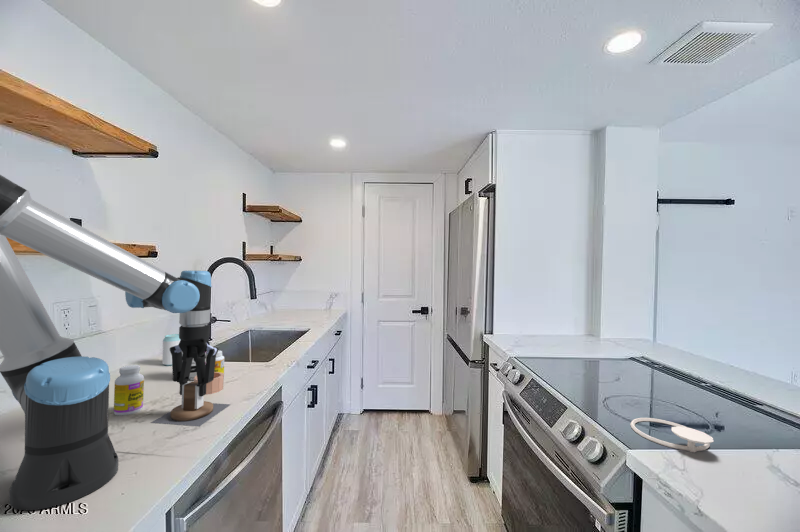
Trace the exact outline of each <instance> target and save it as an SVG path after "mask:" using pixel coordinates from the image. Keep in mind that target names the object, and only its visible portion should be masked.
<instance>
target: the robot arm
mask: <svg viewBox="0 0 800 532" xmlns="http://www.w3.org/2000/svg"><path fill="white" fill-rule="evenodd" d="M8 239H10V240H12V241H13V242H17V243H18V244H20V245H23V246H24V247H27V248H29V249H31V250H34V251H36V252H38V253H40V254H43V255H45V256H47V257H49V258H51V259H54V260H55V261H58V262H60V263H63V264H64V265H66V266H69V267H70V268H73V269H75V270H78V271H79V272H82V273H84V274H86V275H89V276H91V277H93V278H95V279H97V280H99V281H102V282H104V283H106V284H109V285H111V286H112V287H115V288H117V289H118V290H122V291H124V292H125V293H124V294H125V295H124V297H125V302H126V304H127V306H128V307H129V308H132V309H137V308H138V309H139V308H141V309H144V308H154V309H159V310H163V311H166V312H169V313H172V314H179V321H178V324H179V325H180V326H179V327H178V334H179V339H181V340H180V342H179V345H177V346H173V347H170V352H171V355H172V367H171V368H172V369H171V370H172V381H173V382H176V383H178V384H179V395H180V396H181V405H182V408H183V403H184V385H186V384H188V383H190V382H191V381H190V379H189V376H190V371H191V365H192V360H193V358H194V362H195V363H196V372H197V380H198V384H197V385H196V386H195V409H198V408H200V407H201V406H203V404H204V401H205V400H204V399H205V397H204V396H205V395H206V384H207V383H209V382H211V381H213V379H214V370H215V360H216V354H217V352H218V350H220V349H219V347H213V346H212V345H211V343H210V340H209V338H210V336H211V335H210V334H211V325H210V322H211V298H212V295H211V294H212V287H213V286H212V275H211V273H210V271H208V270H182V271H181V273H180V274H179V277H176V276H173V275H172V274H170V273H168V272H166V271H164V270H163V269H161V268H159V267H157V266H155V265H153V264H151V263H150V262H148V261H146V260H144V259H142V258H141V257H139V256H137V255H135V254H133V253H131V252H130V251H127V250H126V249H124V248H122V247H120V246H118V245H116V244H114V243H113V242H111V241H109V240H107V239H105V238H104V237H101V235H98V234H96V233H94V232H93V231H90V230H89V229H87V228H85V227H83V226H82V225H79V224H78V223H76V222H74V221H72V220H70V219H68V218H66V217H65V216H63V215H61V214H60V213H57V212H55V211H54V210H52V209H49V208H48V207H46V206H45V205H43V204H41V203H39V202H37V201H35V200H33V198H32V196H31V193H30V191H29V190H27V189H25V188H24V187H23V186H20V185H18V184H17V183H15V182H13V181H12V180H10V179H9V178H7V177H6V176H4V175H2V174H0V353H1V354H2V356H3V360H2V362H1V364H0V374H1V376H2V378H3V379H4V381H5V383H7V386H8V387H9V389H10V390H11V394H12V396H13V398H15V400H16V401H17V402H18V404H19V405H20V408H21V409H22V411H23V413H24V454H23V458H22V461H21V463H20V465H19V467H18V470H17V472H16V476H15V478H14V480H13V482H12V484H11V486H10V488H9V490H8V491H9V496H8V499H9V500H8V501H9V502H8V503H9V506H10V507H11V508H13V509H15V510H19V511H35V510H43V509H48V508H52V506H53V507H56V506H55V505H57V506H60V505H64V504H67V503H70V502H72V501H73V502H74V501H75V500H78V499H80V498H82V497H85V496H87V495H89V494H91V493H93V492H95V491H96V490H98V489H100V488H102V487H103V486H105V485H106V484H108V483H109V482H110V481H111V480H112V479H113V478H114V477H115V476H116V474H117V473H118V471H119V456H118V454H117V452H116V449H115V448H114V445H113V442H112V441H111V438H110V436H109V409H110V408H109V407H110V406H109V405H110V403H109V402H110V401H109V398H110V382H111V372H110V369H109V367H110V366H109V364H108V363H107V361H105V360H104V359H101V358H99V357H94V356H93V357H92V356H91V357H89V356H85V355H84V356H82V354H81V352H80V351H79V348H78V346H77V345H76V342H75V341H74V339H72V338H67V337H65V336H64V337H63V336H61V335H60V333H59V332H58V330H57V327H56V325H55V323H54V322H53V320H52V319H51V317H50V315H49V313H48V312H47V310H46V308H45V306H44V304H43V302H42V301H41V299H40V297H39V294H37V291H36V290H35V288H34V286H33V284H32V283H31V280H30V279H29V276H28V275H27V273H26V271H25V269H24V268H23V266H22V264H21V262H20V260H19V259H18V256H17V255H16V253H15V252H14V249H13V248H12V246H11V244H10V242H9V240H8ZM182 352H183V355H182ZM205 352H206V354H205ZM205 358H206V364H205ZM182 360H183V362H182Z"/></svg>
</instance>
